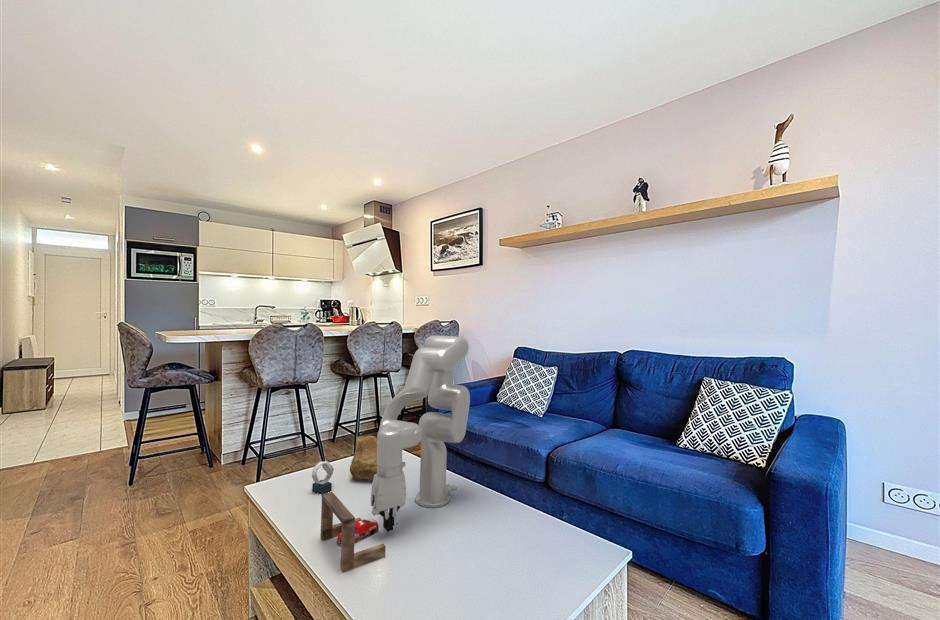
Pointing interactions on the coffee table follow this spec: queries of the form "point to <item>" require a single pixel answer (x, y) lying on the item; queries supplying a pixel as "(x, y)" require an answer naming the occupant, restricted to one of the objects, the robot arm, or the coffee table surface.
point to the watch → (322, 485)
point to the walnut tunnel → (345, 533)
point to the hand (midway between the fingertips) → (388, 529)
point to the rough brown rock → (364, 458)
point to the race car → (363, 529)
